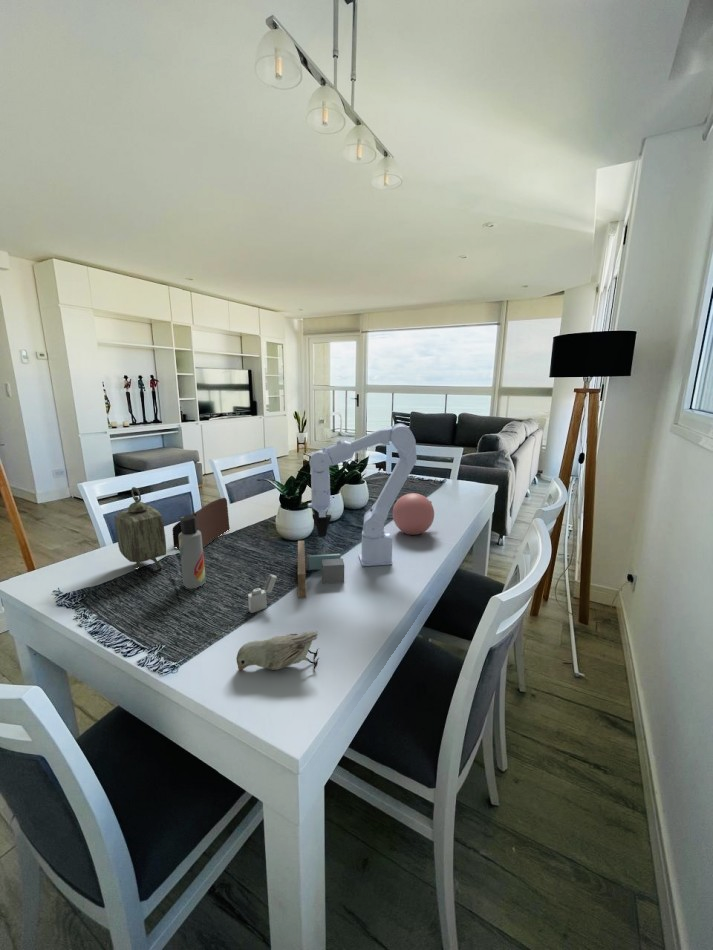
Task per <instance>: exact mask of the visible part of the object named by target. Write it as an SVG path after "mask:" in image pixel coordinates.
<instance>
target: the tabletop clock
mask: <svg viewBox="0 0 713 950" xmlns="http://www.w3.org/2000/svg"><path fill="white" fill-rule="evenodd" d="M134 490H135V492H136V493H137V495H138V496H135V494H134ZM130 493H131V497H132V499H133V500H134V502H132V503H131V504H129V506H128V509H125V510H121V511H120V512H119V513H117V514H116V515H115V516H114V524H115V531H116V532H115V533H116V539H117V545H118V549H119V552H120V553H121V555H122V556H123V557H124V558H125V559H126V560H128V561H129V562H131V563H136V564H134V566H133V568H134V569H135V568H138V567H140V568H141V565H140V563H142V562H146V561H150V560H151V561H152V562H154V563H155V564H156V565H157V566H156V567H157V569H158V568H161V567H163V568H164V565H163V564H162V563H159V561H158V560H157V558H159V557H160V558H161V557H162V556H166V555H167V540H166V533H165V531H166V530H165V526H164V520H163V518H162V514H161V513H160V512H159V511H158V510H157V509H155V508H154V507H153V506H150V505H148V504H147V503H145V502H143V501H141V500H142V496H141V491H140V490H139V488H137V487H135V486H132V487H131V490H130Z"/></svg>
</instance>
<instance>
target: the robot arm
mask: <svg viewBox="0 0 713 950" xmlns="http://www.w3.org/2000/svg"><path fill="white" fill-rule="evenodd" d="M415 438H416V437H415V436H414V434H413V431H412V430H411V429H410V428H409V426H407V425H406V424H404V423H401V422H400V423H395V424H394V425H390V426H386V427H382V428H380V429H378V430H375V431H373V432H371V433H368V434H366V435H364V436H362V437H360V438H357V439H355V440H353V441H348V440H341V439H340V440H337V441H336V443H335V444H333V445H330V446H328V447H326V446H324V447H322V448H321V449H320V450H319V449H318V450H317V451H315V452H314V453H313V454H312V455H311V456H310V459H309V462H308V463H309V467H310V468H311V469H310V471H311V475H310V484H311V488H310V491H311V493H310V494H311V502H309V503H307V507H308V508H311V509H312V511H313V514H312V519H313V521H314V523H315V525H316V531H317V535H318V537H319V538H321V537H322V538H325V537H326V535H327V534H328V533H327V532H328V526H329V523H330V521H331V519H332V514H328V511H329V509H330V508H331V506H332V504H331V475H330V466H333V467H334V466H336V465H338V464H341V463H344V462H346V461H348V460H351V459H353V457H354V456H355V453H356V452H357V453H358V452H360V451H361V450H362V451H363V450H364V449H368V448H370V447H373V446H375V445H378V444H382V445H387V446H390V442H391V444H392V445H393V446H394V448H395V449H396V450H397V454H398V457H399V459H398V460H397V462H396V464H395V466H394V468H393V469H392V471H391V473H390V476H389V477H388V479H387V480H386V482H385V485H384V487H383V488H382V489H381V491H380V494H379V495H378V497H377V499H376V501H375V502H374V503H373V505H372V507H371V508H370V509H369V510H367V511H366V512H365V513H364V514H363V525H362V531H361V553H359V554H358V557H359V560H360V563H361V565H362V566H363V567H369V566H371V567H373V566H374V567H375V566H385V565H386V566H387V565H388V566H389V565H393V538H392V535H391V533H390V532H385V531H384V529H385V523H386V522H387V519H388V516H389V512H390V510H391V508H392V506H394V504H395V501H396V500H397V497H398V495H399V493H400V492H401V490H402V488H403V486H404V484H405V483H406V482H407V479H408V477H409V476H410V474H411V472H412V470H413V469H414V466H415V465H416V463H417V460H418V459H417V447H416V444H417V443H416V442H417V441H416V439H415Z"/></svg>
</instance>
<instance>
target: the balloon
mask: <svg viewBox="0 0 713 950" xmlns="http://www.w3.org/2000/svg"><path fill="white" fill-rule="evenodd" d="M396 500H397V501H396V502H394V504H393V508H392V519H393V522H394V524H395V526H396V528H397V529H399V530H400V531H401V532H403V533H405V534H407V535H412V536H414V535H420V534H421V535H422V534H423V533H424V532H427V531H428V530H429V529H430V528H431V526H432V524H433V522H434V520H435V519H434V518H435V509H434V506H433V504H432V503H433V502H432V501H431V500H429V498H427V497H426V496H425V495H422V494H420V493H415V492H411V493H407V494H403V496H400V497H399V498H398V499H396Z"/></svg>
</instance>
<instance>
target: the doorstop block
mask: <svg viewBox="0 0 713 950" xmlns="http://www.w3.org/2000/svg"><path fill="white" fill-rule="evenodd" d="M321 575H322V584H336V583H337V584H340V583H345V562H344V558H340V559H324V560H322V569H321Z"/></svg>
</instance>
